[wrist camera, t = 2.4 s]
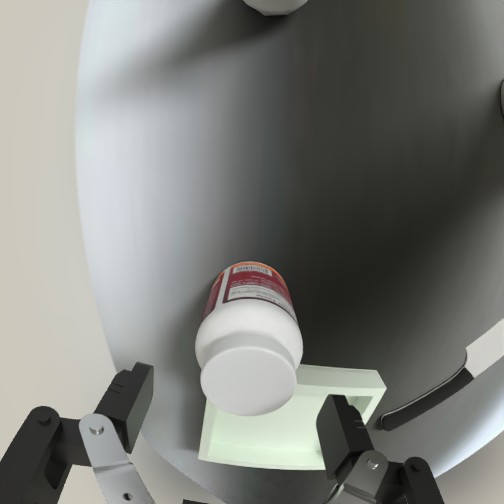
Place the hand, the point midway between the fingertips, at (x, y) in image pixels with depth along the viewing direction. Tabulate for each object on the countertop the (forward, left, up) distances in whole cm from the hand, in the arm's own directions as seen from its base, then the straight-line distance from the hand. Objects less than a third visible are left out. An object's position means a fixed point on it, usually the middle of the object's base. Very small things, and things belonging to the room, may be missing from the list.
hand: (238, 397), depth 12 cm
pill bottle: (0, 0, -12) cm, 12 cm away
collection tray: (-6, +13, -12) cm, 19 cm away
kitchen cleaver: (-30, +3, -13) cm, 33 cm away
